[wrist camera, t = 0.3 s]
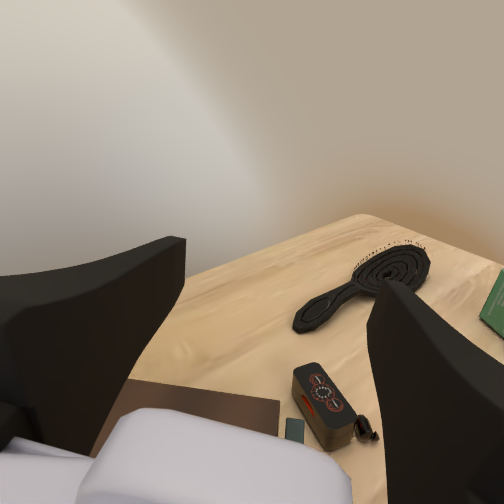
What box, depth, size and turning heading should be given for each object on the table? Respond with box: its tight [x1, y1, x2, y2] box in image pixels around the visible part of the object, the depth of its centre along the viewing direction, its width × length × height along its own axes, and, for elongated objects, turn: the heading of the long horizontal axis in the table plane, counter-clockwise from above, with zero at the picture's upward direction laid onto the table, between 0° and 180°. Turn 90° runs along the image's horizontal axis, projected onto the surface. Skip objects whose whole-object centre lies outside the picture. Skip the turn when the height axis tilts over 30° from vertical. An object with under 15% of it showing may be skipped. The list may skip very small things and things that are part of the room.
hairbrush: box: [292, 240, 431, 334], centre depth 44 cm, size 8×4×25 cm
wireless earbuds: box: [292, 362, 380, 451], centre depth 29 cm, size 5×7×3 cm, turn 22°
